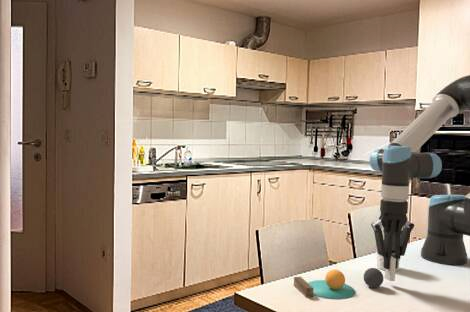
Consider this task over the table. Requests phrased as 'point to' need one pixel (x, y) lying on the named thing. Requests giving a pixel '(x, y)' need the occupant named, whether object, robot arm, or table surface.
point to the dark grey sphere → (373, 277)
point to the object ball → (335, 279)
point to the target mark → (331, 290)
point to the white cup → (381, 260)
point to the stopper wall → (303, 286)
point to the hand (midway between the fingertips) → (389, 279)
